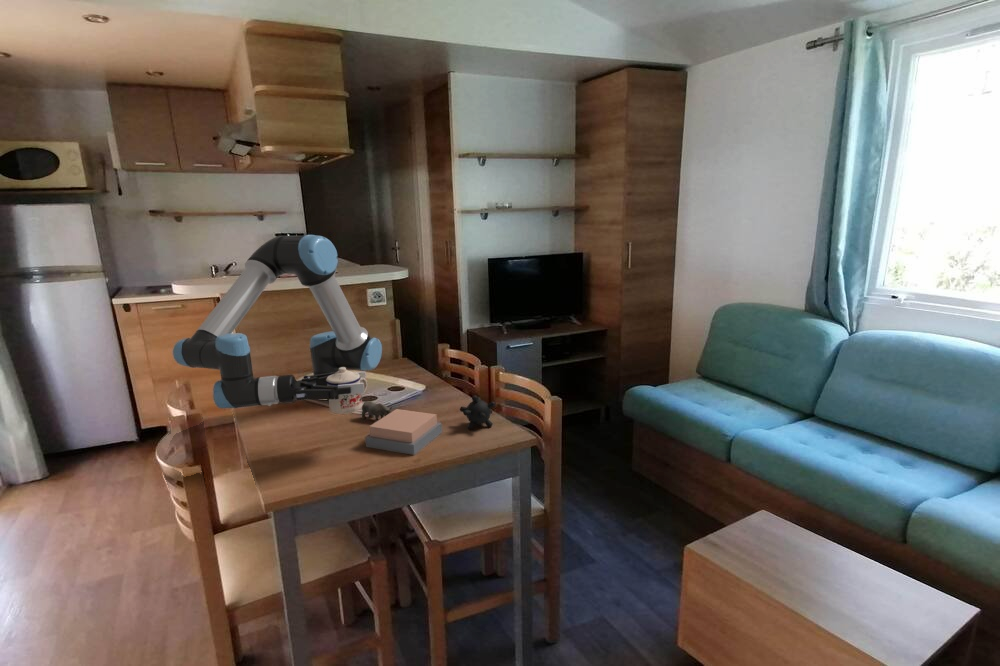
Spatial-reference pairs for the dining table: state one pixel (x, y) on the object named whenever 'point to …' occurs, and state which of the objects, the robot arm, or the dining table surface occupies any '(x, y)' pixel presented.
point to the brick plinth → (404, 444)
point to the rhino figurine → (375, 410)
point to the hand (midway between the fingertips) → (364, 381)
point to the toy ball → (478, 412)
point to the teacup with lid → (345, 401)
